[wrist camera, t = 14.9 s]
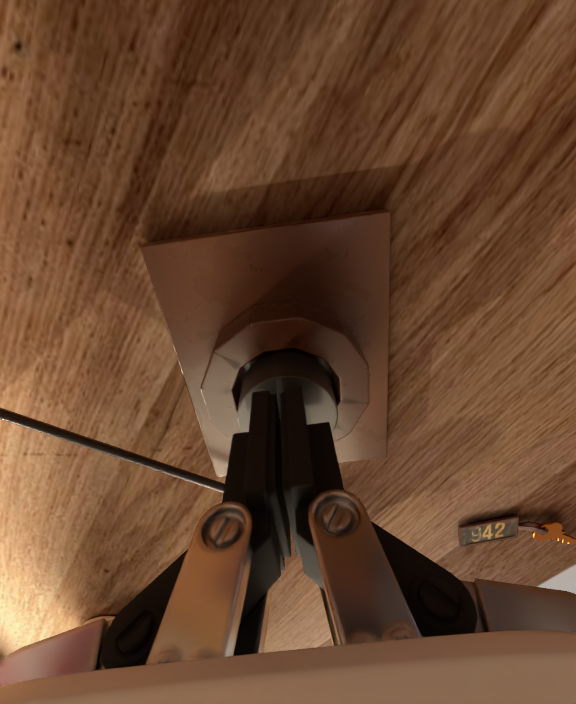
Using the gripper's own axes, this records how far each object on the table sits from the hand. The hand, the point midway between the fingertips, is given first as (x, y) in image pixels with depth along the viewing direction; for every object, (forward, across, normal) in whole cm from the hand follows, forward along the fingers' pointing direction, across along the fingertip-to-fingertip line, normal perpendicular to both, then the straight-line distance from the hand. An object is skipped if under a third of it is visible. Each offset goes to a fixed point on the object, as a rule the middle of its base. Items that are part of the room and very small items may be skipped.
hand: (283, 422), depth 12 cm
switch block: (+4, 0, 0) cm, 4 cm away
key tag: (+4, -13, +15) cm, 21 cm away
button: (+2, 0, 0) cm, 2 cm away
